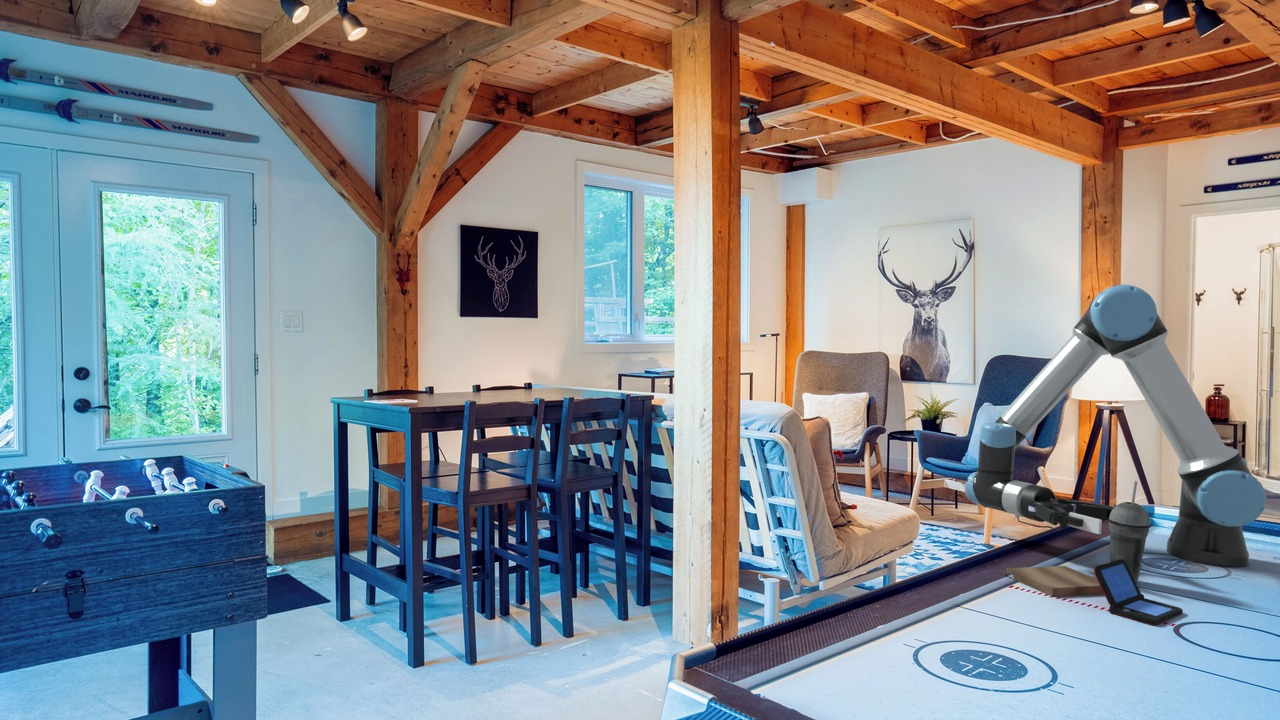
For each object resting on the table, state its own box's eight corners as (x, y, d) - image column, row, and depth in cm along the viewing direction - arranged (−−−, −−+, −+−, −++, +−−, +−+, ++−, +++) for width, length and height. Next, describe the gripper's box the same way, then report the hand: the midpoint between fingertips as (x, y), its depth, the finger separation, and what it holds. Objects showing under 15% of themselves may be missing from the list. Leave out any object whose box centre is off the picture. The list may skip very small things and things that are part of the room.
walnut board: (1063, 573, 168) (1064, 565, 168) (1113, 592, 157) (1113, 585, 157) (1005, 575, 164) (1006, 568, 164) (1052, 596, 153) (1052, 588, 153)
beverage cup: (1134, 576, 169) (1143, 477, 167) (1153, 588, 161) (1162, 485, 160) (1096, 573, 169) (1104, 475, 168) (1113, 585, 162) (1122, 482, 161)
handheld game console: (1155, 628, 139) (1159, 584, 139) (1088, 608, 148) (1091, 566, 147) (1185, 615, 147) (1188, 573, 147) (1119, 597, 156) (1122, 557, 155)
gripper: (1066, 514, 190) (1160, 539, 171) (988, 521, 179) (1079, 548, 160) (1069, 482, 190) (1163, 502, 171) (990, 486, 178) (1082, 509, 159)
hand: (1123, 525), depth 165 cm, fingers open, 13 cm apart
